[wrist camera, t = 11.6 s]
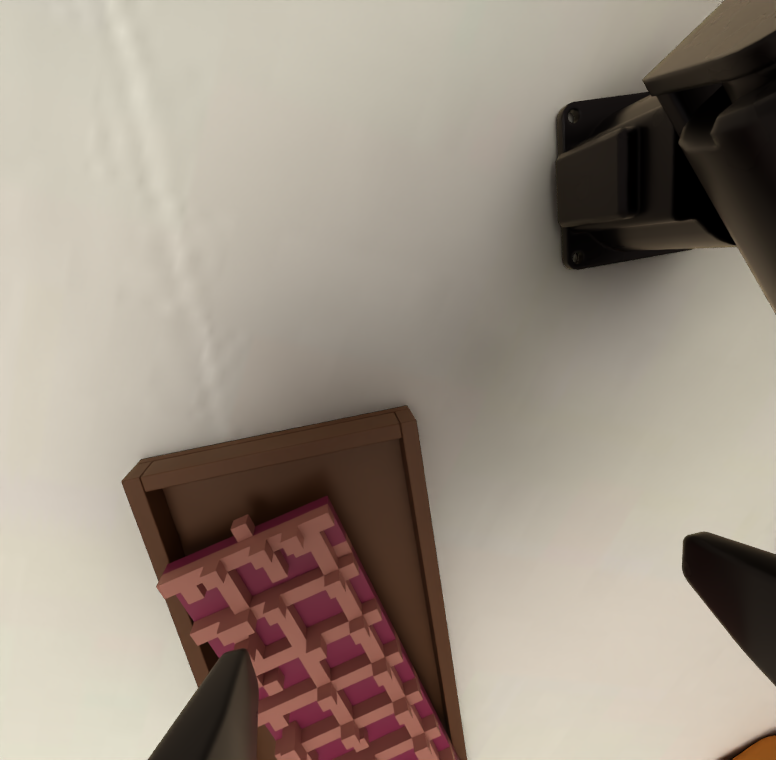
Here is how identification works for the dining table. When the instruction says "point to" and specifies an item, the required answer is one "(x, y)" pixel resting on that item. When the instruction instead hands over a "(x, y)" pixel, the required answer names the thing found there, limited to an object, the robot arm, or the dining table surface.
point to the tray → (295, 489)
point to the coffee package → (760, 750)
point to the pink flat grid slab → (310, 639)
